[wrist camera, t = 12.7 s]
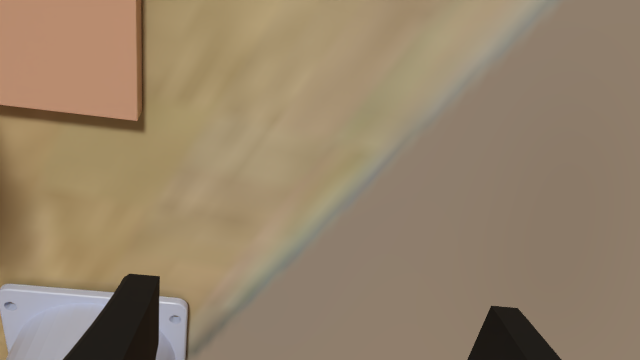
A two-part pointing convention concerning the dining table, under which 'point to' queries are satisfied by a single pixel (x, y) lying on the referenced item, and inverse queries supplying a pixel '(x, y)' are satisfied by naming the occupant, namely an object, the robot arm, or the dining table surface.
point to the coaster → (72, 56)
